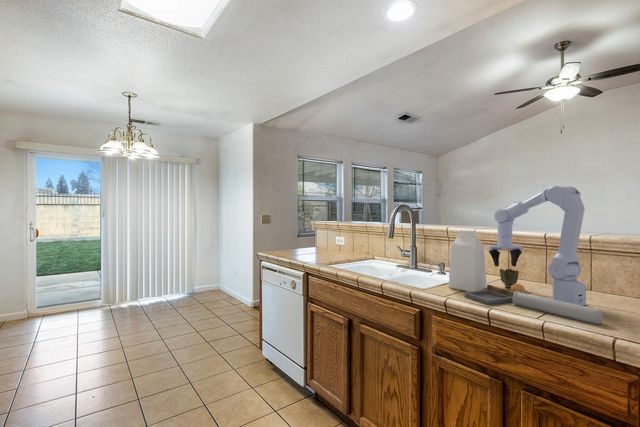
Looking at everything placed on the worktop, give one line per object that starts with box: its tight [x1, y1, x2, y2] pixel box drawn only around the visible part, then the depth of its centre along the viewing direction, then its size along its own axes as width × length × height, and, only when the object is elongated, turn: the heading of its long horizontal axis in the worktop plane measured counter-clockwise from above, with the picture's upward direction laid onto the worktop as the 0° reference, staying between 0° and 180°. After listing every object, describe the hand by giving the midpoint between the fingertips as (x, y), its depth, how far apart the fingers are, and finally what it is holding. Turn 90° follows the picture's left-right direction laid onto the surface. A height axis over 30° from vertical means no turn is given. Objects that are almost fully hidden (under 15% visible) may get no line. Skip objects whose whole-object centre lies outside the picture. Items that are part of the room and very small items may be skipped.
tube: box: [512, 291, 604, 325], centre depth 105 cm, size 5×5×25 cm
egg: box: [510, 283, 526, 294], centre depth 127 cm, size 5×5×5 cm
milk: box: [448, 229, 487, 292], centre depth 141 cm, size 12×12×26 cm
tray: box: [464, 289, 513, 306], centre depth 122 cm, size 12×12×2 cm
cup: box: [499, 268, 520, 289], centre depth 141 cm, size 8×7×8 cm
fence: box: [486, 284, 514, 297], centre depth 125 cm, size 18×1×3 cm, turn 17°
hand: (505, 266), depth 140 cm, fingers open, 7 cm apart
